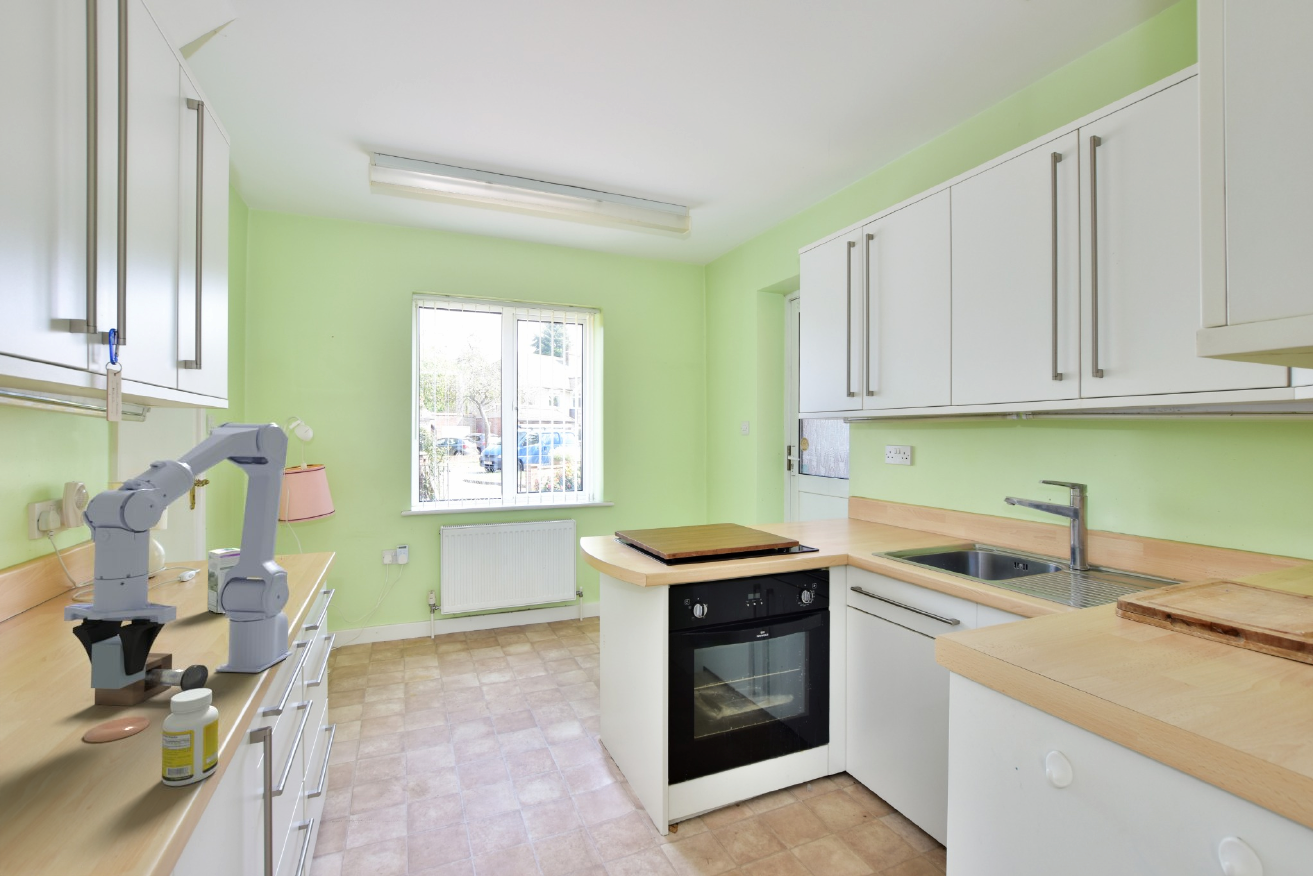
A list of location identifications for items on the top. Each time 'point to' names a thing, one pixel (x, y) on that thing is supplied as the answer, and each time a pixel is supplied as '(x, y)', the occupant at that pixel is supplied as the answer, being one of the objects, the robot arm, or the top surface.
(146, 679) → the rod
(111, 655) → the block
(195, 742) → the supplement bottle
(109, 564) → the robot arm
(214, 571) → the syrup box
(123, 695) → the rod housing
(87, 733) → the plate
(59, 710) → the top surface
